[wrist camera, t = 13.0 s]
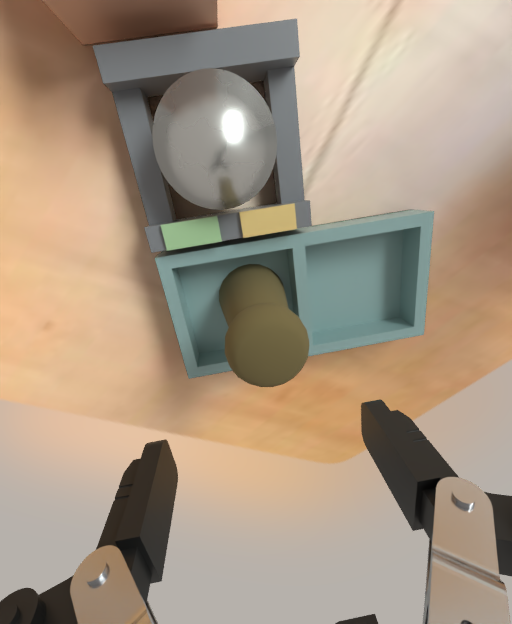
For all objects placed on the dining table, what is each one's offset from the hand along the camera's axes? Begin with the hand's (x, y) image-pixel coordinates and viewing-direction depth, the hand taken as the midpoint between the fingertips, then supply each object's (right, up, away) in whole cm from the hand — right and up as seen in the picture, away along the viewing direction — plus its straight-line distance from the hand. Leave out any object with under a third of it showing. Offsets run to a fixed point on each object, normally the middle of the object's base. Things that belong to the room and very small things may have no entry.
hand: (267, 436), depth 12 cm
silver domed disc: (-3, +17, +10) cm, 20 cm away
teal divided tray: (+3, +7, +15) cm, 17 cm away
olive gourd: (-1, +7, +15) cm, 16 cm away
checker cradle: (-3, +17, +11) cm, 21 cm away
